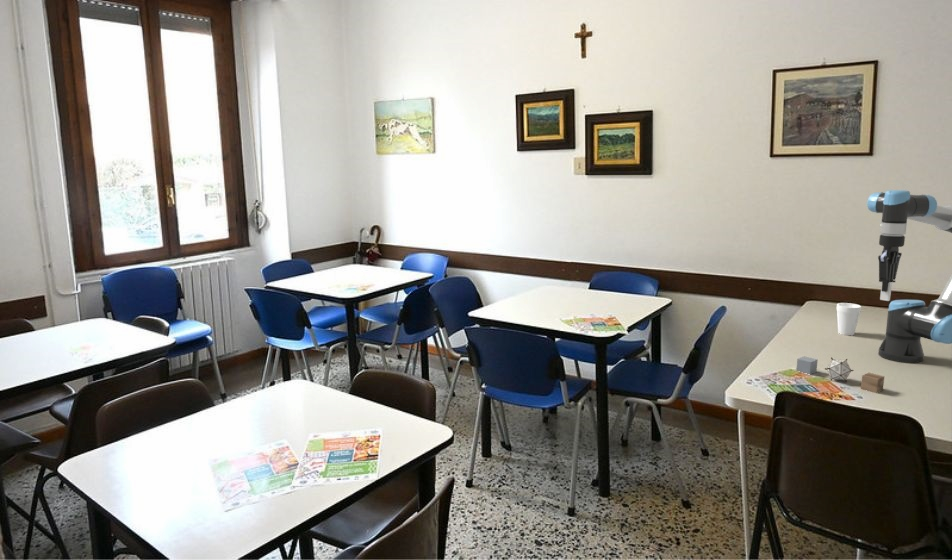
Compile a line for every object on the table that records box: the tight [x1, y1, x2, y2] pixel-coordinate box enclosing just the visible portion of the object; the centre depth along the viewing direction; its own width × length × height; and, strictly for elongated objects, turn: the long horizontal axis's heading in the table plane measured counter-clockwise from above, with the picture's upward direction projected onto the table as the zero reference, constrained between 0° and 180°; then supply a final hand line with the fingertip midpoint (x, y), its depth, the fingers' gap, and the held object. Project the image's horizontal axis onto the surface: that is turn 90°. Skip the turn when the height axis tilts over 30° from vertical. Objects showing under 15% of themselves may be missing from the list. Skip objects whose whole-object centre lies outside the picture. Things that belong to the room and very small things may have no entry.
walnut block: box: [860, 372, 885, 394], centre depth 227 cm, size 5×5×5 cm
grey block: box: [796, 356, 818, 375], centre depth 245 cm, size 5×5×5 cm
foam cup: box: [836, 302, 862, 336], centre depth 292 cm, size 10×9×13 cm
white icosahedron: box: [824, 357, 854, 383], centre depth 236 cm, size 9×8×10 cm
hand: (884, 300), depth 235 cm, fingers closed
